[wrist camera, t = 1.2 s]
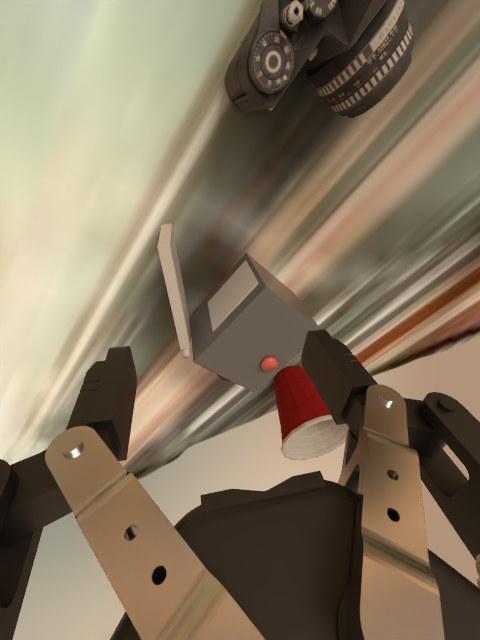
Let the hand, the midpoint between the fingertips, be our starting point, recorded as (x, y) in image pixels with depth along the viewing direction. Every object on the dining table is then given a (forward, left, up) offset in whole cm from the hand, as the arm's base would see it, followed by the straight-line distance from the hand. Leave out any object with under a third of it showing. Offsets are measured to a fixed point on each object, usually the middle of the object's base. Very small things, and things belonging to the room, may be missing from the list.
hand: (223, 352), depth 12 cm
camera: (+2, -18, -21) cm, 28 cm away
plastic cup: (-28, +10, -21) cm, 36 cm away
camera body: (-11, +5, -21) cm, 24 cm away
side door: (-1, +6, -20) cm, 21 cm away
